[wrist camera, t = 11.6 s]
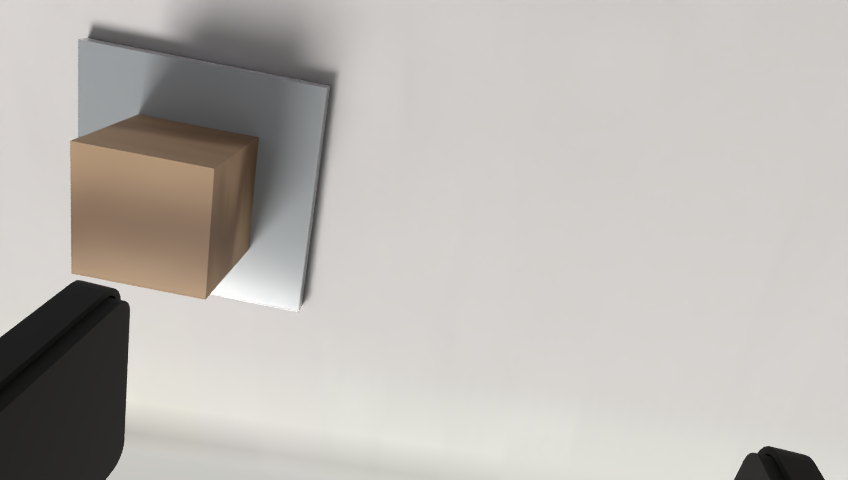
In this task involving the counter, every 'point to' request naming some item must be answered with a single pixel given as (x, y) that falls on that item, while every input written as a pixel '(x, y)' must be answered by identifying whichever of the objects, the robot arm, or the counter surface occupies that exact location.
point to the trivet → (234, 112)
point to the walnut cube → (161, 204)
